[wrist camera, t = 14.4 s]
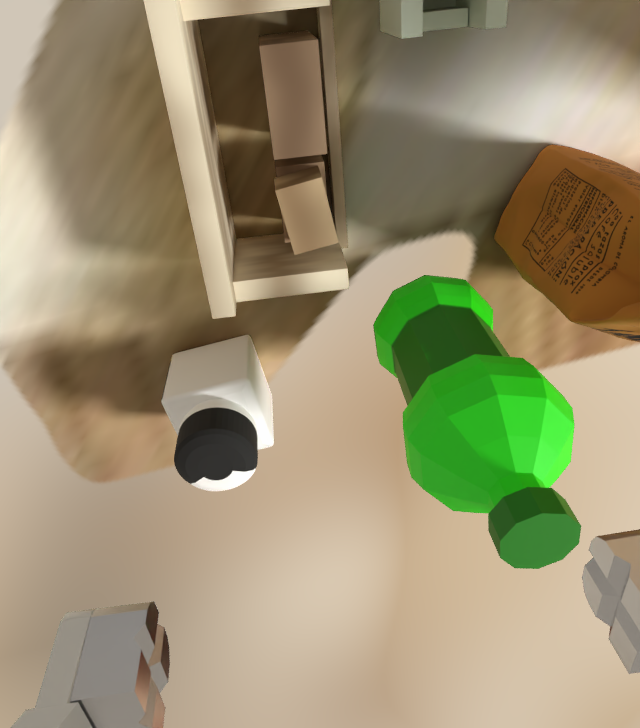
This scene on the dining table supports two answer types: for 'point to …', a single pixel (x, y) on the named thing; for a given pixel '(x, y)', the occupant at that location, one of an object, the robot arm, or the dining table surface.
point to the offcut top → (305, 210)
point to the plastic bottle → (479, 419)
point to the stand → (439, 15)
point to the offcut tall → (293, 94)
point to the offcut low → (293, 166)
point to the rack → (206, 170)
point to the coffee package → (579, 237)
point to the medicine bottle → (218, 412)
